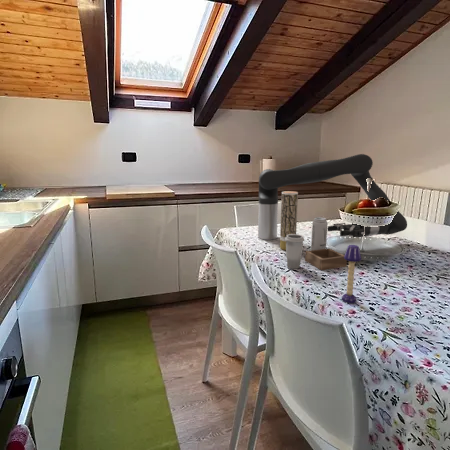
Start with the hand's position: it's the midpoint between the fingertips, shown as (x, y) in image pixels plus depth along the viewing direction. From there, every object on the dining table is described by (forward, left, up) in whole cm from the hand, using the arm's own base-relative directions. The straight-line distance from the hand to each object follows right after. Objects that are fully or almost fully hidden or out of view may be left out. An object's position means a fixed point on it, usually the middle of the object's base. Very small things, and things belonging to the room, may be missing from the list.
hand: (334, 231), depth 145 cm
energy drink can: (0, -7, -9) cm, 12 cm away
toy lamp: (+41, -24, -9) cm, 49 cm away
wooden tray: (+12, -12, -9) cm, 19 cm away
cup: (+11, -26, -9) cm, 29 cm away
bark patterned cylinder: (-10, -16, -9) cm, 21 cm away
